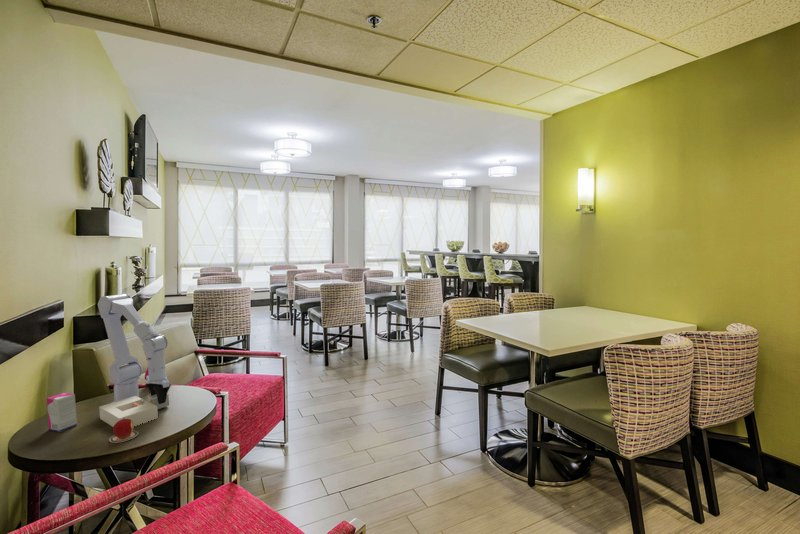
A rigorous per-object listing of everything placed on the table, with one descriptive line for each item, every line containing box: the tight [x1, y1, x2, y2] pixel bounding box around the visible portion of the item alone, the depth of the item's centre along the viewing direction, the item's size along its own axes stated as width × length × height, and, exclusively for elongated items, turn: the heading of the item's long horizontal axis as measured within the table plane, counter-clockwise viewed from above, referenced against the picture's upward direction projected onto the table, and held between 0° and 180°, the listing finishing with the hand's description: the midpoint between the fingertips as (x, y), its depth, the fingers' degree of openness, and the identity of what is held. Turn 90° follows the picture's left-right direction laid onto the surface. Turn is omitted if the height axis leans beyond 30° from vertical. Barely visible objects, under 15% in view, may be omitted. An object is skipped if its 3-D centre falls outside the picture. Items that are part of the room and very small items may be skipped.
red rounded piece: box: [108, 417, 139, 444], centre depth 132 cm, size 8×8×6 cm
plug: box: [147, 393, 170, 410], centre depth 155 cm, size 4×6×4 cm
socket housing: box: [98, 396, 159, 428], centre depth 147 cm, size 18×12×5 cm, turn 55°
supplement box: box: [46, 392, 78, 433], centre depth 140 cm, size 6×6×12 cm
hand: (159, 401), depth 155 cm, fingers closed on plug, 4 cm apart
